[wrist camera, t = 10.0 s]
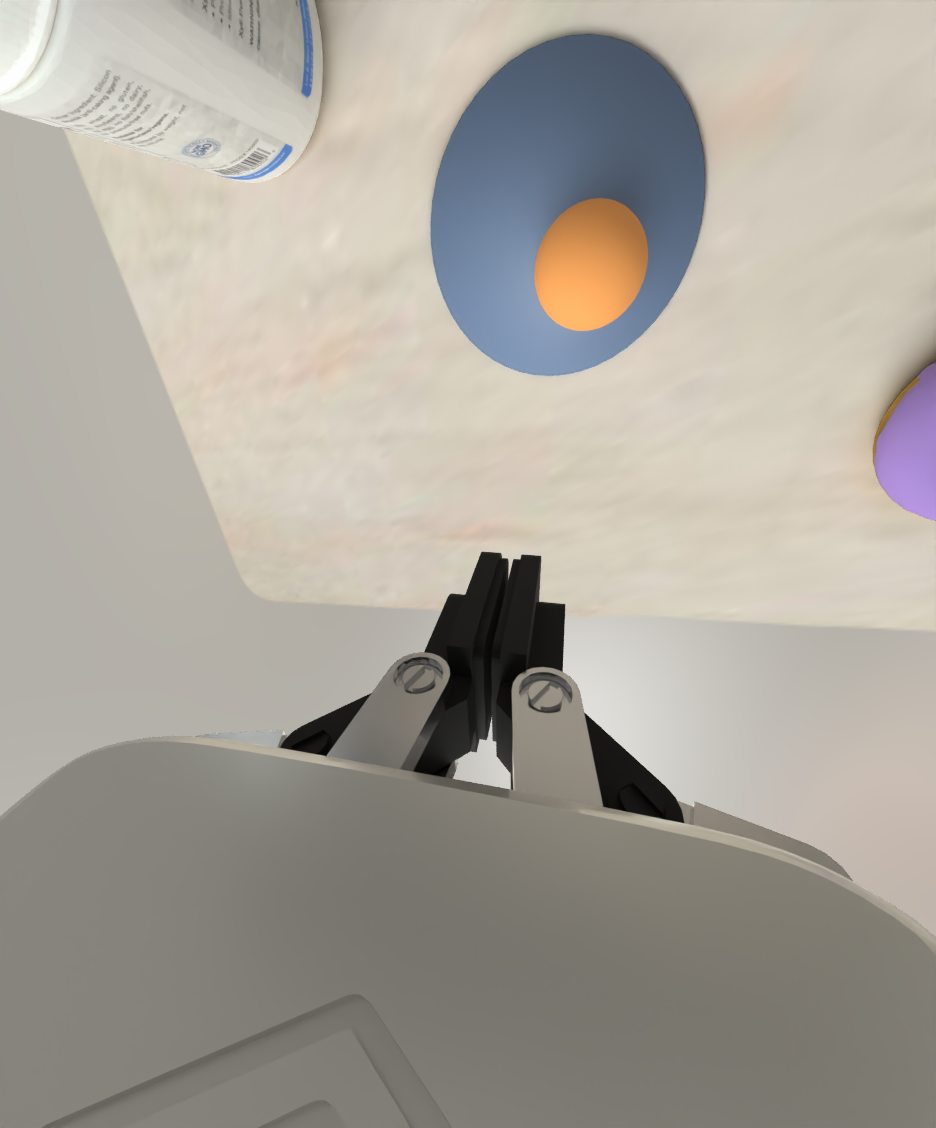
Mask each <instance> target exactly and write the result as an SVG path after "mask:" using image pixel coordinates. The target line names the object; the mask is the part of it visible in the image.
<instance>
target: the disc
mask: <svg viewBox="0 0 936 1128" xmlns="http://www.w3.org/2000/svg"><path fill="white" fill-rule="evenodd" d="M596 198H605V199H611V200H615V201H617V202H619V203H621V204H623V205H625V206H626V207H628V208H629V209H630V210H631V211H632V212H633V213H634V214H635V215H636V217H637V218H638V220H639V221H640V223H641V225H642V227H643V229H644V232H645V235H646V239H647V245H648V263H647V270H646V274H645V277H644V281H643V283H642V286H641V288H640V290H639V292H638V294H637V296H636V298H635V299H634V301H633V302H632V303H631V305H630V306H629V307H628V308H627V310H626V311H625V312H624V313H623V314H622V315H620V316H619V317H618V318H617V319H615V320H614V321H613V322H611V323H609V324H608V325H605V326H603V327H601V328H598V329H594V330H589V331H575V330H571V329H567V328H565V327H563V326H561V325H559V324H557V323H556V322H554V321H553V320H552V319H551V318H550V317H549V316H548V315H547V313H546V312H545V310H544V309H543V307H542V305H541V304H540V301H539V299H538V296H537V293H536V288H535V281H534V271H535V261H536V257H537V253H538V249H539V246H540V244H541V242H542V240H543V237H544V235H545V234H546V232H547V231H548V229H549V228H550V226H551V225H552V224H553V222H554V221H555V220H556V219H557V218H558V217H559V216H560V215H561V214H562V213H563V212H565V211H566V210H567V209H568V208H570V207H572V206H574V205H576V204H577V203H579V202H582V201H585V200H589V199H596ZM704 198H705V168H704V157H703V149H702V144H701V140H700V135H699V131H698V127H697V124H696V121H695V119H694V116H693V113H692V111H691V108H690V105H689V104H688V102H687V100H686V98H685V96H684V95H683V93H682V91H681V89H680V87H679V86H678V84H677V83H676V82H675V81H674V79H673V78H672V77H671V76H670V74H669V73H668V72H667V71H666V69H665V68H664V67H663V66H662V65H660V64H659V63H658V62H657V61H656V60H655V59H653V58H652V57H651V56H650V55H649V54H648V53H646V52H644V51H642V50H641V49H639V48H637V47H635V46H634V45H632V44H630V43H627V42H624V41H621V40H618V39H615V38H612V37H608V36H600V35H592V34H586V35H572V36H566V37H562V38H558V39H554V40H550V41H547V42H545V43H543V44H540V45H538V46H536V47H534V48H532V49H529V50H527V51H526V52H524V53H523V54H521V55H520V56H518V57H517V58H515V59H514V60H512V61H511V62H509V63H508V64H507V65H505V66H504V67H503V68H502V69H501V70H500V71H499V72H497V73H496V74H495V75H494V76H493V77H492V78H491V79H490V80H489V81H488V82H487V83H486V84H485V86H484V87H483V88H482V89H481V90H480V91H479V92H478V94H477V95H476V96H475V97H474V99H473V100H472V102H471V103H470V105H469V106H468V108H467V109H466V111H465V112H464V113H463V115H462V117H461V119H460V120H459V122H458V124H457V126H456V128H455V130H454V132H453V134H452V136H451V138H450V140H449V143H448V145H447V148H446V150H445V153H444V155H443V158H442V161H441V165H440V168H439V172H438V175H437V179H436V184H435V190H434V195H433V201H432V213H431V246H432V254H433V263H434V267H435V271H436V276H437V280H438V283H439V286H440V289H441V292H442V295H443V298H444V300H445V302H446V304H447V306H448V309H449V311H450V313H451V315H452V316H453V318H454V319H455V321H456V323H457V324H458V326H459V327H460V329H461V330H462V331H463V332H464V334H465V335H466V336H467V337H468V339H469V340H470V341H471V342H472V343H473V344H474V345H475V346H476V347H477V348H478V349H480V350H481V351H482V352H483V353H485V354H486V355H487V356H489V357H490V358H491V359H493V360H494V361H496V362H498V363H500V364H502V365H504V366H506V367H508V368H511V369H514V370H517V371H519V372H523V373H528V374H533V375H546V376H553V375H565V374H570V373H575V372H579V371H583V370H585V369H588V368H591V367H594V366H596V365H598V364H600V363H602V362H604V361H606V360H608V359H610V358H612V357H613V356H615V355H616V354H618V353H619V352H621V351H622V350H624V349H625V348H627V347H628V346H629V345H630V344H632V343H633V342H634V341H635V340H636V339H637V338H639V337H640V336H641V335H642V334H643V333H644V332H645V331H646V330H647V329H648V328H649V327H650V325H651V324H652V323H653V322H654V321H655V320H656V319H657V317H658V316H659V315H660V313H661V312H662V311H663V309H664V308H665V307H666V306H667V304H668V302H669V301H670V299H671V298H672V296H673V294H674V293H675V291H676V289H677V288H678V286H679V284H680V282H681V280H682V278H683V276H684V274H685V271H686V269H687V267H688V265H689V262H690V259H691V256H692V254H693V251H694V248H695V245H696V242H697V237H698V233H699V229H700V225H701V221H702V213H703V206H704Z"/></svg>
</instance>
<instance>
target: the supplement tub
mask: <svg viewBox="0 0 936 1128" xmlns="http://www.w3.org/2000/svg"><path fill="white" fill-rule="evenodd" d="M322 83H323V51H322V38H321V31H320V25H319V19H318V14H317V9H316V5H315V1H314V0H0V110H3V111H6V112H9V113H12V114H16V115H19V116H22V117H26V118H29V119H33V120H36V121H39V122H42V123H46V124H49V125H52V126H56V127H59V128H63V129H66V130H69V131H72V132H76V133H79V134H82V135H86V136H89V137H92V138H95V139H99V140H102V141H105V142H109V143H112V144H115V145H119V146H122V147H125V148H129V149H132V150H135V151H139V152H142V153H145V154H148V155H152V156H155V157H159V158H162V159H166V160H169V161H172V162H175V163H179V164H182V165H185V166H189V167H192V168H195V169H199V170H202V171H205V172H209V173H212V174H216V175H219V176H222V177H226V178H229V179H232V180H236V181H241V182H247V183H258V182H264V181H267V180H270V179H273V178H275V177H277V176H279V175H281V174H282V173H284V172H285V171H287V170H288V169H289V168H290V167H291V166H292V165H293V164H294V163H295V162H296V161H297V160H298V159H299V157H300V156H301V155H302V153H303V152H304V150H305V148H306V146H307V145H308V143H309V141H310V139H311V136H312V134H313V131H314V128H315V125H316V122H317V118H318V115H319V110H320V103H321V96H322Z"/></svg>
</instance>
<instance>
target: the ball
mask: <svg viewBox="0 0 936 1128" xmlns="http://www.w3.org/2000/svg"><path fill="white" fill-rule="evenodd" d="M647 263H648V245H647V239H646V235H645V232H644V229H643V227H642V225H641V223H640V221H639V220H638V218H637V217H636V215H635V214H634V213H633V212H632V211H631V210H630V209H629V208H628V207H626V206H625V205H623V204H621V203H619V202H617V201H615V200H611V199H605V198H596V199H589V200H585V201H582V202H579V203H577V204H576V205H574V206H572V207H570V208H568V209H567V210H566V211H565V212H563V213H562V214H561V215H560V216H559V217H558V218H557V219H556V220H555V221H554V222H553V224H552V225H551V226H550V228H549V229H548V231H547V232H546V234H545V235H544V237H543V240H542V242H541V244H540V246H539V249H538V253H537V257H536V261H535V271H534V281H535V288H536V293H537V296H538V299H539V301H540V304H541V305H542V307H543V309H544V310H545V312H546V313H547V315H548V316H549V317H550V318H551V319H552V320H553V321H554V322H556V323H557V324H559V325H561V326H563V327H565V328H567V329H571V330H575V331H589V330H594V329H598V328H601V327H603V326H605V325H608V324H609V323H611V322H613V321H614V320H615V319H617V318H618V317H619V316H620V315H622V314H623V313H624V312H625V311H626V310H627V308H628V307H629V306H630V305H631V303H632V302H633V301H634V299H635V298H636V296H637V294H638V292H639V290H640V288H641V286H642V283H643V281H644V277H645V274H646V270H647Z"/></svg>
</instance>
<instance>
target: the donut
mask: <svg viewBox="0 0 936 1128" xmlns="http://www.w3.org/2000/svg"><path fill="white" fill-rule="evenodd" d="M873 464H874V467H875V472H876V476H877V478H878V481H879V483H880V485H881V486H882V488H883V489H884V490H885V492H886V493H887V495H888V496H889V497H890V498H891V499H892V500H893V501H894V502H896V503H897V504H898V505H900V506H901V507H902V508H903V509H905V510H907V511H910V512H912V513H915V514H917V515H920V516H922V517H924V518H927V519H931V520H935V521H936V363H933V364H931V365H929V366H928V367H926V368H925V369H924V370H923V371H922V372H921V373H920V374H919V375H918V376H917V377H916V378H915V379H914V380H913V381H912V382H911V383H910V384H909V385H908V386H907V387H906V388H905V389H904V390H903V391H902V392H901V393H900V394H899V395H898V397H897V398H896V399H895V401H894V402H893V403H892V405H891V406H890V407H889V409H888V410H887V412H886V414H885V415H884V417H883V419H882V421H881V423H880V425H879V428H878V431H877V433H876V436H875V441H874V446H873Z"/></svg>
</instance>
